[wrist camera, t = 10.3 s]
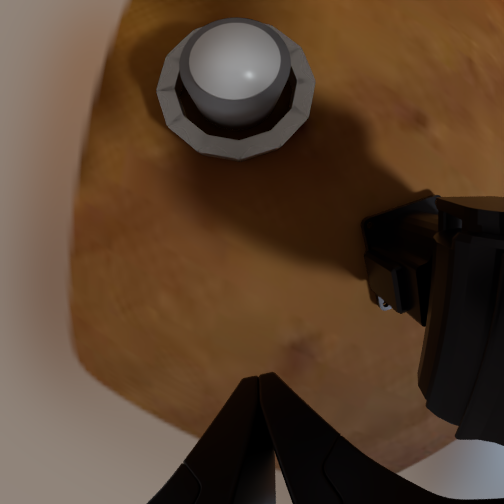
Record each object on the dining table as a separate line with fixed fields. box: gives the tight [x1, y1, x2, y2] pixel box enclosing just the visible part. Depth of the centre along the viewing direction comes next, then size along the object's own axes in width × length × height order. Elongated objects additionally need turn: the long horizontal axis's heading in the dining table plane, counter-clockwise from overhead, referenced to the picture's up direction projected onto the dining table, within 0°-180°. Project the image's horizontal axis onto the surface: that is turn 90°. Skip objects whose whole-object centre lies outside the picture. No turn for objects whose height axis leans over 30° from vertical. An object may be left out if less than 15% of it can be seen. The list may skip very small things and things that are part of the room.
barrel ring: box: [156, 23, 315, 162], centre depth 16 cm, size 8×8×2 cm
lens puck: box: [179, 18, 291, 130], centre depth 14 cm, size 5×5×5 cm
